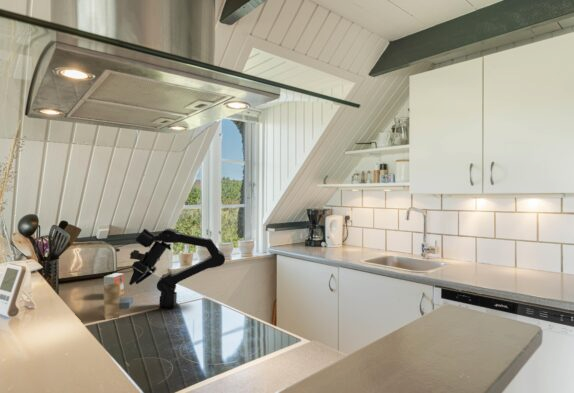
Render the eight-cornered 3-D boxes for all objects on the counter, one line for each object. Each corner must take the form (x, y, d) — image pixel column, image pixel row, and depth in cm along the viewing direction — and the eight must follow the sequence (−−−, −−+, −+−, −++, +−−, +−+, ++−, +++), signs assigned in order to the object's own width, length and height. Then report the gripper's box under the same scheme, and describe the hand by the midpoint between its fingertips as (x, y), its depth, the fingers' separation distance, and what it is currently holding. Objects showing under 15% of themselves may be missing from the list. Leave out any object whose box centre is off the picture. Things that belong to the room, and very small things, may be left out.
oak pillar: (116, 313, 147) (117, 283, 147) (119, 317, 143) (119, 286, 143) (103, 315, 144) (104, 285, 144) (105, 319, 140) (105, 288, 140)
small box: (113, 299, 165) (113, 277, 165) (103, 298, 166) (103, 276, 166) (124, 294, 173) (124, 273, 173) (114, 293, 174) (114, 272, 174)
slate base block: (133, 303, 162) (133, 296, 162) (128, 309, 154) (129, 302, 154) (115, 303, 160) (115, 297, 160) (109, 309, 152) (109, 303, 152)
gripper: (145, 245, 164) (124, 274, 160) (133, 242, 146) (109, 274, 142) (165, 257, 164) (144, 286, 160) (156, 256, 146) (132, 289, 142)
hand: (133, 284), depth 151 cm, fingers open, 9 cm apart
